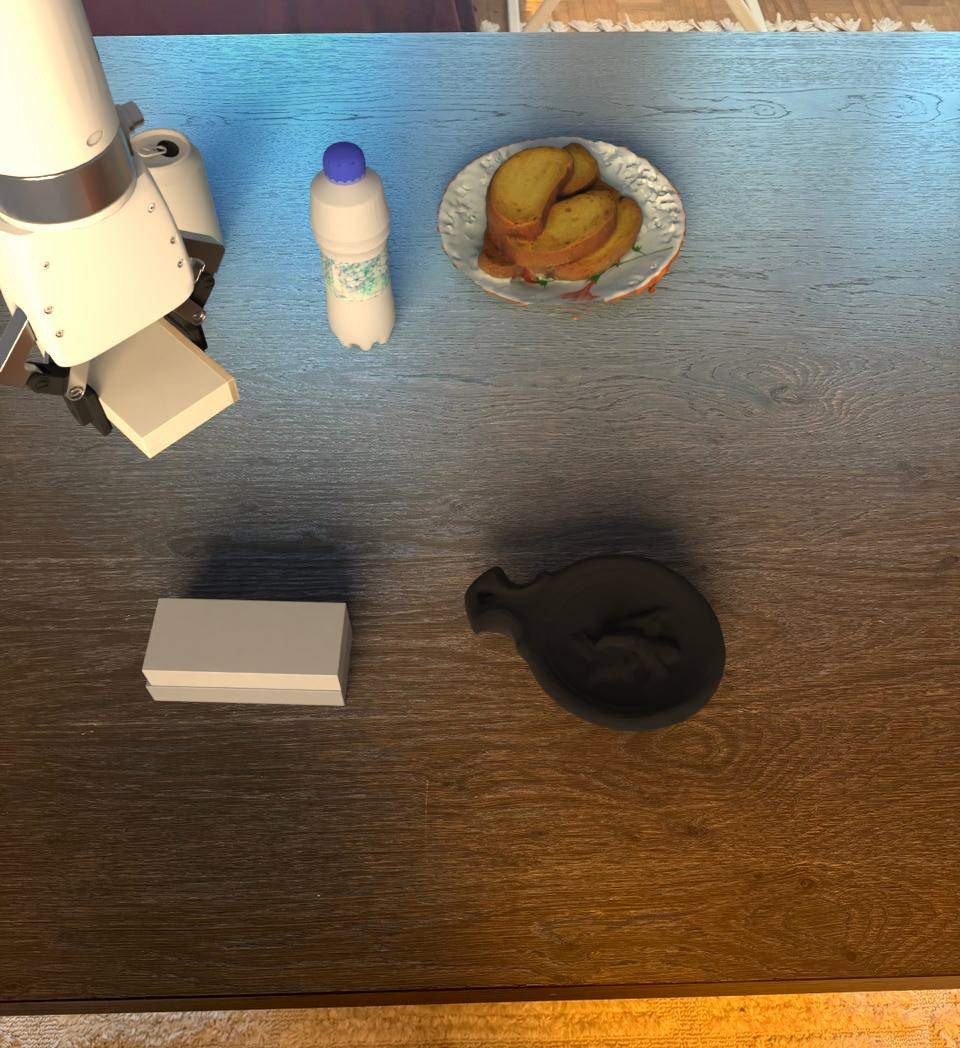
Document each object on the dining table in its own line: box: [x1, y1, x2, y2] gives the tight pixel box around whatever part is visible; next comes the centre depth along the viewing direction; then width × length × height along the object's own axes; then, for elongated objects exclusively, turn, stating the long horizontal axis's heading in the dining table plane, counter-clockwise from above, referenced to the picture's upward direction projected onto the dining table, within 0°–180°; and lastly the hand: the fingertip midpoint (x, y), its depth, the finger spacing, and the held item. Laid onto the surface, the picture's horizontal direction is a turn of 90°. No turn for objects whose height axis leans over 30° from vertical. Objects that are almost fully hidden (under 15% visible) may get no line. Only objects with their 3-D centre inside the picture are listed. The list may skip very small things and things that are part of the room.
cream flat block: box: [35, 317, 241, 459], centre depth 63 cm, size 12×7×2 cm, turn 46°
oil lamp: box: [463, 553, 727, 732], centre depth 71 cm, size 15×20×5 cm
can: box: [130, 127, 223, 264], centre depth 93 cm, size 8×8×12 cm
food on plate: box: [436, 136, 687, 321], centre depth 97 cm, size 25×25×7 cm
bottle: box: [309, 140, 397, 352], centre depth 84 cm, size 7×7×20 cm
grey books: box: [141, 597, 353, 707], centre depth 70 cm, size 14×6×5 cm, turn 89°
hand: (145, 389), depth 65 cm, fingers closed on cream flat block, 7 cm apart
